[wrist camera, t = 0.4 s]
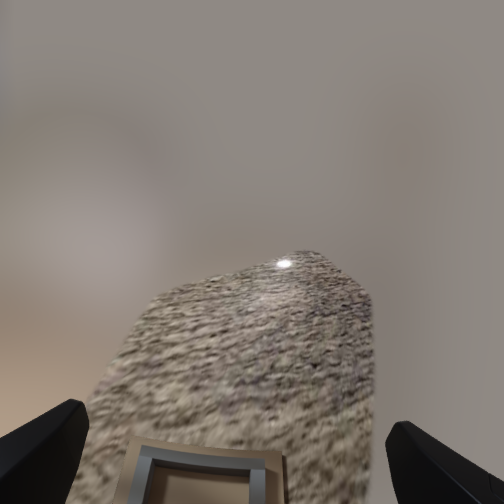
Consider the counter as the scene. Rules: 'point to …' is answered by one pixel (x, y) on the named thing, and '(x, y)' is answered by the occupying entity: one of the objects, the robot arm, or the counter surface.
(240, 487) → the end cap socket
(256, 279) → the counter surface
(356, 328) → the counter surface
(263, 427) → the counter surface
